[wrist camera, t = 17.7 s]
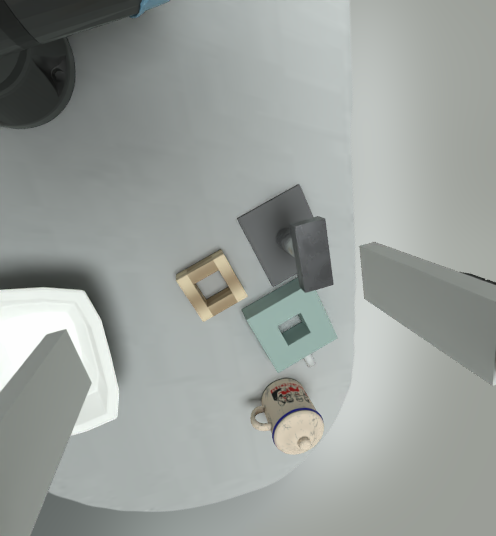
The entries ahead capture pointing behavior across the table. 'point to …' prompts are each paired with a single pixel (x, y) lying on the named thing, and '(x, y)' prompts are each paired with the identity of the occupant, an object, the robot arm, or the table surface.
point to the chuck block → (298, 337)
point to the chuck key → (308, 252)
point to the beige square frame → (219, 300)
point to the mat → (275, 231)
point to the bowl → (80, 331)
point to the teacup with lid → (289, 417)
